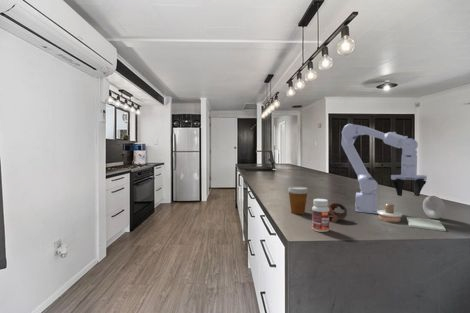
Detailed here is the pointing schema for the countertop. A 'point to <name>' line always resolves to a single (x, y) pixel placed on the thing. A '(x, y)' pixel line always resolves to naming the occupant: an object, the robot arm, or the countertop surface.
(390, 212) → the lid
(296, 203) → the disposable coffee cup
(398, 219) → the orange round disc
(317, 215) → the pill bottle
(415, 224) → the mat
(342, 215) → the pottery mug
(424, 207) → the white tape roll
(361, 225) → the countertop surface
